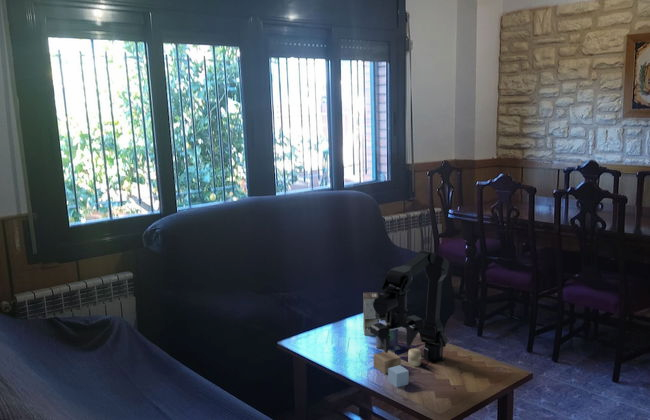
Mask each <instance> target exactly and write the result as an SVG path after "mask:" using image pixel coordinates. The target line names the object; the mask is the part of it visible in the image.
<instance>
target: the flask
mask: <svg viewBox="0 0 650 420" xmlns="http://www.w3.org/2000/svg"><path fill="white" fill-rule="evenodd" d="M384 322H385V321H384ZM384 325H385V326H386V325H389V323H386V322H385V323H384ZM398 334H399V329H395V330H391V331H390V334H389V335H388V336H390V341H389V348H392V347H393V348H394V347H397V346H398V338H399V337H398ZM375 337H376V339H375V340H376V343H375V347H376V348H377V349H380V350H381V349H384V348H383V346H382V343H381V340H380V338H379V337H377V336H376V335H375Z"/></svg>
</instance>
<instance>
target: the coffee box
mask: <svg viewBox="0 0 650 420" xmlns="http://www.w3.org/2000/svg"><path fill="white" fill-rule="evenodd" d="M378 294H379V292H377V291H375V292H371V291H369V292H363V303H362V305H363V315H362V316H363V317H362V319H363V323H362V325H363V335H364V336H375V335H374V334H372V333H371V332H370V328H371V326H372V325H373V324H378V323H380V319H376V316H375V310H374V307H373V303H374V300H375V299H376V298H378Z"/></svg>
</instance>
